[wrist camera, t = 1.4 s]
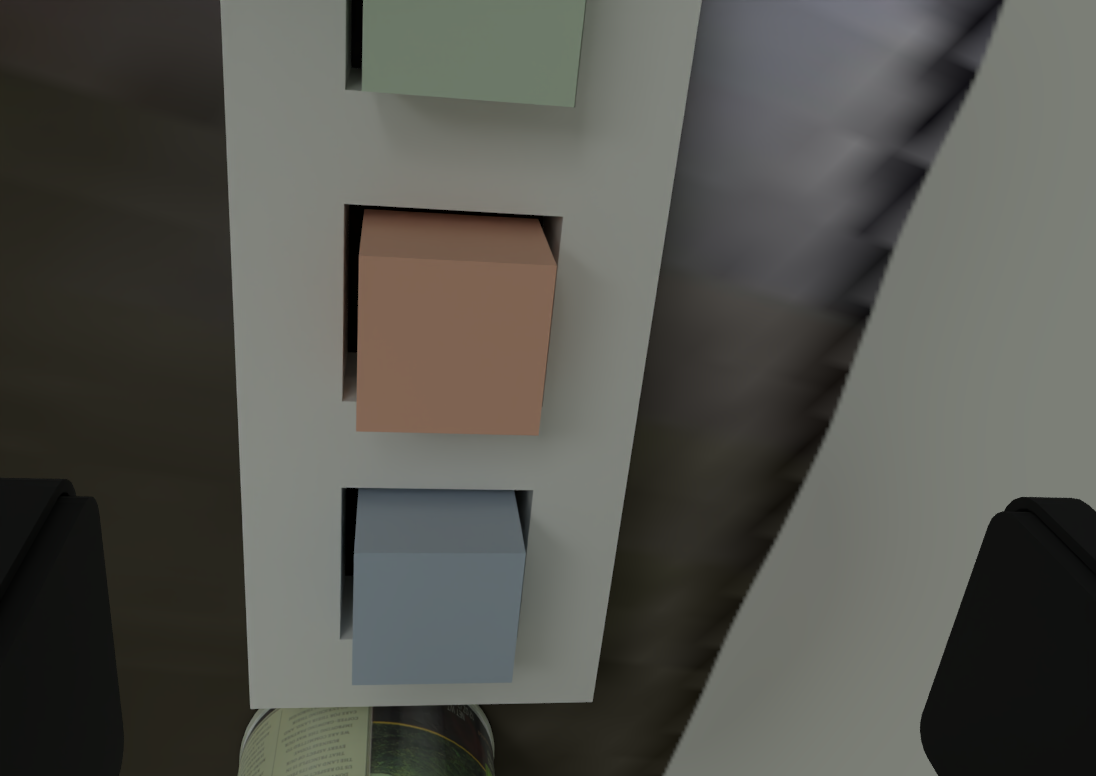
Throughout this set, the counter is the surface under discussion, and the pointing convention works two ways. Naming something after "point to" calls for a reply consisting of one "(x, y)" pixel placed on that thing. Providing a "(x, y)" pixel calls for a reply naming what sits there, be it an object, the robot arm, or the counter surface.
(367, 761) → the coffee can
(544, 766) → the counter surface
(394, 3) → the sage key
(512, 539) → the slate key
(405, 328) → the terracotta key
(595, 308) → the keypad housing
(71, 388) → the counter surface
